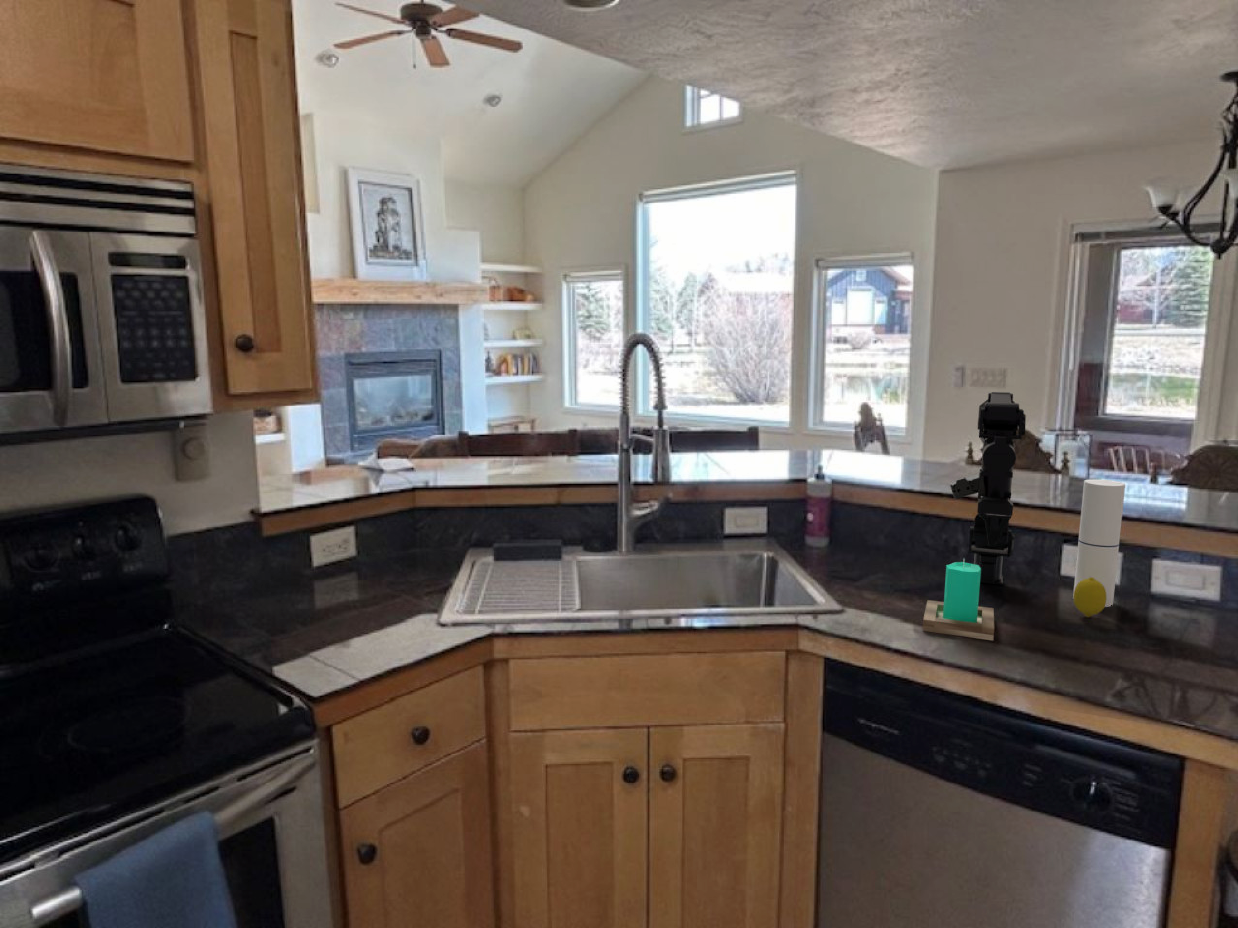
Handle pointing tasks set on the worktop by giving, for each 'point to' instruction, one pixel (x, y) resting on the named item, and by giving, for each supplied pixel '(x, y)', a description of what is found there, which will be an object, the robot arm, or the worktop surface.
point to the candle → (961, 592)
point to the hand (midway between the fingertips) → (991, 540)
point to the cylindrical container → (1100, 533)
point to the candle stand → (959, 622)
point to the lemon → (1089, 596)
